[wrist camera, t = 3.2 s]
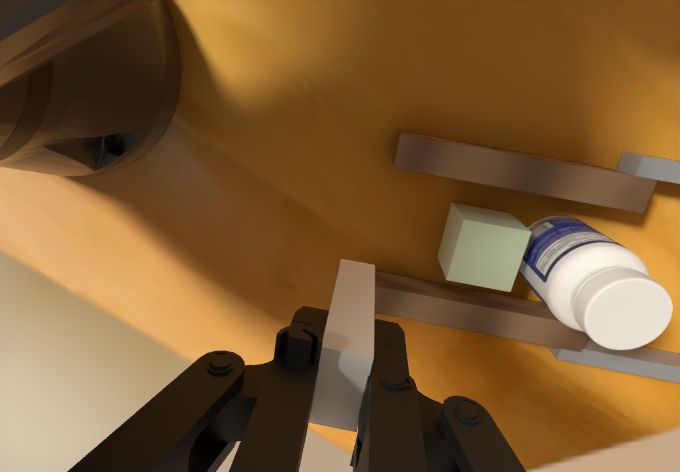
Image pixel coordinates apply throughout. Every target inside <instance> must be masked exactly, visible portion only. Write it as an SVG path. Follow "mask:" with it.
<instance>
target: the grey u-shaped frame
mask: <svg viewBox="0 0 680 472" xmlns="http://www.w3.org/2000/svg"><path fill="white" fill-rule="evenodd" d="M616 170H617V171H621V172H624V173H627V174H630V175H634V176H638V177H644V178H649V179H655V180H660V181H666V182H672V183H677V184H680V161H675V160H670V159H664V158H659V157H653V156H647V155H642V154H636V153H631V152H625V151H623V154H622V156H621V159H620V161H619V163H618V166H617V168H616ZM548 348H549V349H550V351H551V352H552V353H553V355H554V356H555V358H556V359H557V360H563V361H568V362H573V363H578V364H583V365H589V366H594V367H599V368H604V369H609V370H615V371H620V372H625V373H630V374H635V375H641V376H646V377H651V378H656V379H661V380H666V381H672V382H677V383H680V354H678V353H673V352H667V351H662V350H657V349H652V348H646V347H638V348H634V349H629V350H614V349H609V348H606V347H603V346H601V345H599V344H597V343H596V342H595V341H593V340H592V339H591V338H590V337H589V336H588V337H587V339H586V341H585V343H584V346H583V348H582V350H581V352H577V351H571V350H566V349H561V348H556V347H551V346H548Z"/></svg>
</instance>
